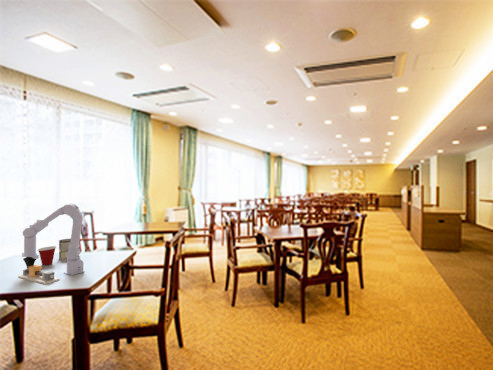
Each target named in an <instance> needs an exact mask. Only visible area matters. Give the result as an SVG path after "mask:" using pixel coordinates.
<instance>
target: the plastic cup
mask: <svg viewBox="0 0 493 370" xmlns="http://www.w3.org/2000/svg"><path fill="white" fill-rule="evenodd" d="M56 248H57V246H56V245H53V246H45V247H41V248H37V251H38V254H39V258H40V261H41V266H50V265H53V260H54V256H55V251H56Z"/></svg>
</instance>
